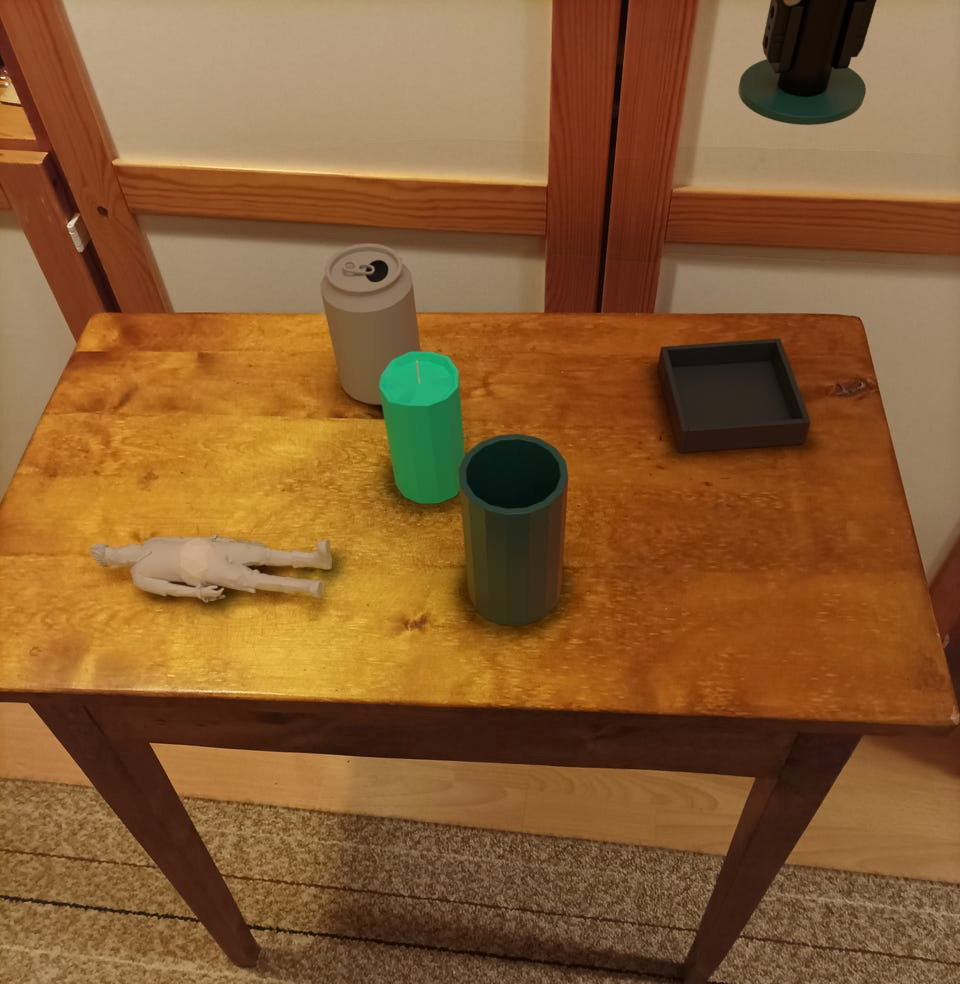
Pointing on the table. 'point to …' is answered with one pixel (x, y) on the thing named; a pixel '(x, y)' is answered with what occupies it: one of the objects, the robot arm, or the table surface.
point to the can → (368, 315)
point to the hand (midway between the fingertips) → (808, 63)
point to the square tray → (732, 396)
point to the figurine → (211, 565)
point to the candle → (424, 425)
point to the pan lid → (807, 74)
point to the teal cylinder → (514, 527)
